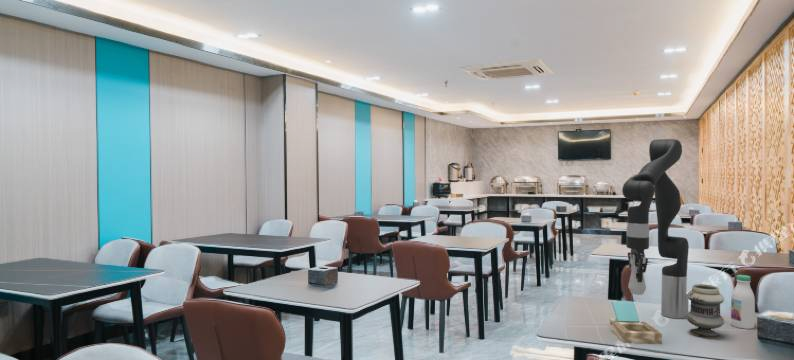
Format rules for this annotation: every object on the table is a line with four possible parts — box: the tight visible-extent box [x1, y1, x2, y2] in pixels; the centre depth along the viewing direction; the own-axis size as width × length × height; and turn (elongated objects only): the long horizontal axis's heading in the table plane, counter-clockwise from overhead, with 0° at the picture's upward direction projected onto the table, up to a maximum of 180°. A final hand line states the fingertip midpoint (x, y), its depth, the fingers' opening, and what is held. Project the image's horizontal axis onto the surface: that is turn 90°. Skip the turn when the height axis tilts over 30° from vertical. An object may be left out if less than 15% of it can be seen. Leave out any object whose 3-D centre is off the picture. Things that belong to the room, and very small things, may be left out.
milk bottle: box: [730, 274, 756, 330], centre depth 204 cm, size 8×8×20 cm
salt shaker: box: [627, 258, 647, 296], centre depth 190 cm, size 6×6×13 cm
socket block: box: [609, 318, 663, 345], centre depth 195 cm, size 13×22×4 cm, turn 175°
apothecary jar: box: [686, 283, 725, 339], centre depth 194 cm, size 12×12×18 cm
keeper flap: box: [611, 300, 641, 323], centre depth 202 cm, size 8×9×1 cm
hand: (637, 282), depth 190 cm, fingers closed on salt shaker, 3 cm apart
